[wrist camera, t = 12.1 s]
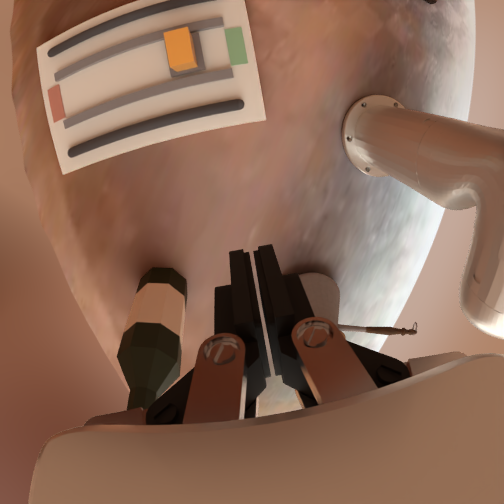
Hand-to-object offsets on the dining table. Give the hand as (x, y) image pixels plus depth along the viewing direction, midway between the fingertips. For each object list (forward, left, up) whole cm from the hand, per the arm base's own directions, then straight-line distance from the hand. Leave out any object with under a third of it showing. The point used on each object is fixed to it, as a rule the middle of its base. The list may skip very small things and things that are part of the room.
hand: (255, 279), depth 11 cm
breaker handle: (+3, -14, -26) cm, 29 cm away
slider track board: (+9, -14, -29) cm, 33 cm away
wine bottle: (+15, +19, -29) cm, 38 cm away
